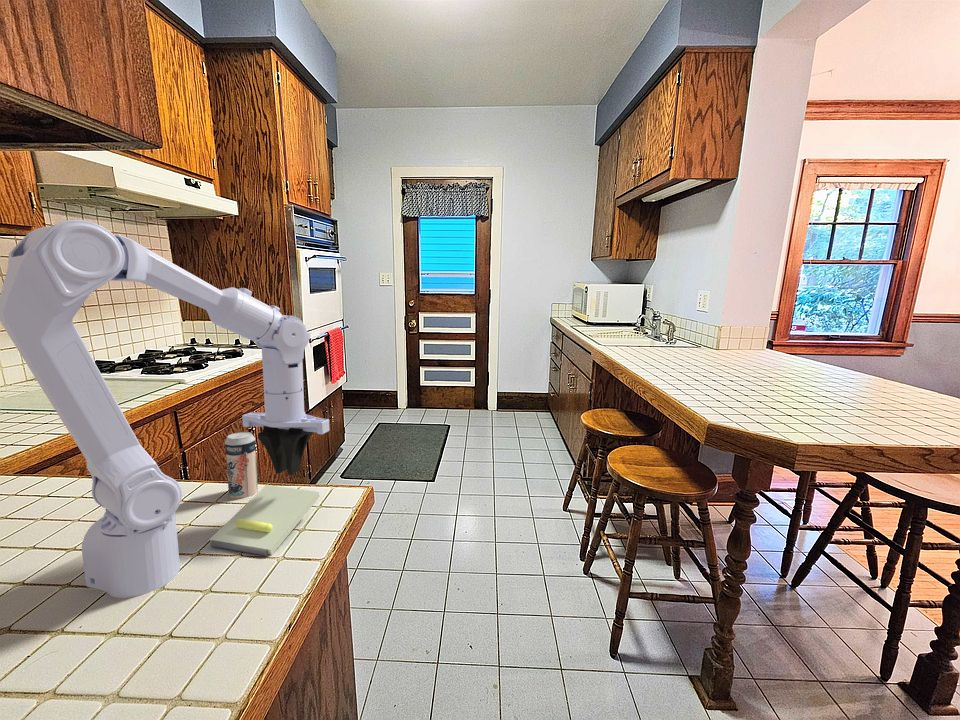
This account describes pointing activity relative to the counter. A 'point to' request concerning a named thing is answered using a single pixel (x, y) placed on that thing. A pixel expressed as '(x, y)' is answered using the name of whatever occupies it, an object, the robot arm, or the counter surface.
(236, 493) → the beer can
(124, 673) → the counter surface
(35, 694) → the counter surface
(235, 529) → the plate
